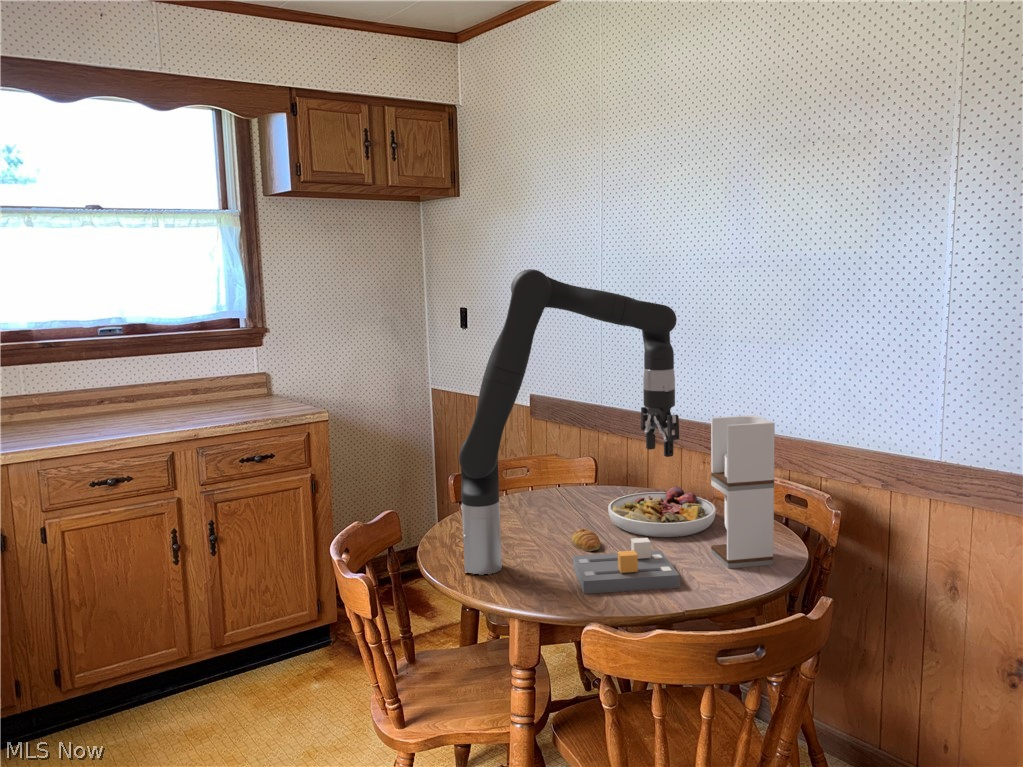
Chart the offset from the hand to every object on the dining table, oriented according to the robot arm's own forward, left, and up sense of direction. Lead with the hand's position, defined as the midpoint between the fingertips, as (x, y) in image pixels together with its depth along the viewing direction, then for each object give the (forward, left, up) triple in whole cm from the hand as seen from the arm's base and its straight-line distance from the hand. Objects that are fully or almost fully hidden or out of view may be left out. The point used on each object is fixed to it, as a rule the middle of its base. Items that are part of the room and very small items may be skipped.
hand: (659, 452), depth 193 cm
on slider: (-6, -5, -24) cm, 25 cm away
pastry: (-16, +14, -28) cm, 35 cm away
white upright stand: (+20, -2, -28) cm, 34 cm away
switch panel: (-11, -9, -28) cm, 31 cm away
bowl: (+8, +29, -28) cm, 41 cm away
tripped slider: (-11, -13, -24) cm, 30 cm away
